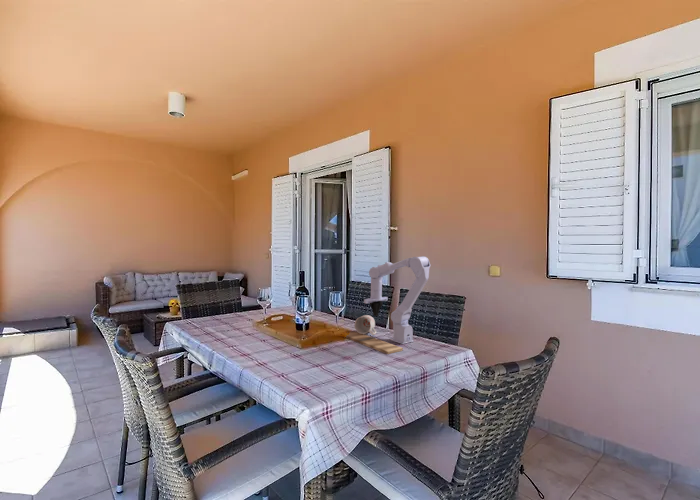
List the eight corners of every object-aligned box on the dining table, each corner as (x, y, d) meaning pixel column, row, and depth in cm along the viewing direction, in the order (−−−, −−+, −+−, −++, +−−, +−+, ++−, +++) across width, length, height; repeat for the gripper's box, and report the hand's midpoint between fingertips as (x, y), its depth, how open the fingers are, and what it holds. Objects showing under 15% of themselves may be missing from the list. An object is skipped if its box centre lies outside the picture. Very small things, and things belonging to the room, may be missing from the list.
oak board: (402, 350, 167) (402, 347, 167) (388, 354, 161) (388, 350, 161) (374, 340, 183) (374, 337, 183) (360, 343, 177) (360, 340, 177)
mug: (356, 323, 203) (351, 326, 192) (366, 311, 202) (361, 313, 191) (373, 338, 199) (368, 341, 189) (383, 326, 198) (378, 328, 188)
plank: (373, 340, 183) (373, 337, 183) (359, 343, 178) (359, 340, 178) (354, 333, 196) (354, 330, 196) (340, 336, 191) (341, 333, 191)
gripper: (381, 287, 198) (381, 312, 199) (360, 289, 190) (360, 315, 190) (390, 289, 193) (390, 315, 193) (369, 291, 184) (368, 318, 185)
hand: (375, 315), depth 191 cm, fingers closed
